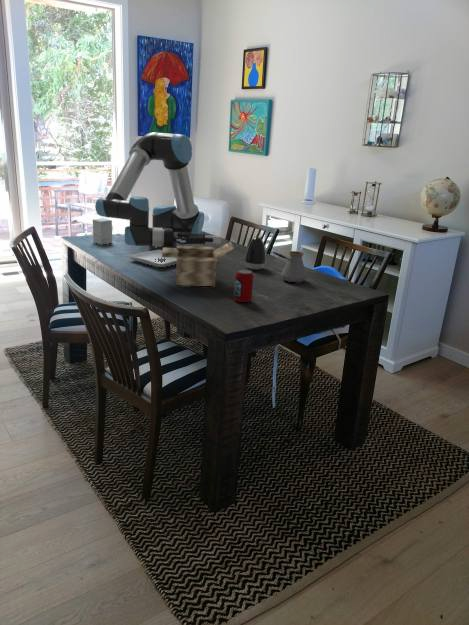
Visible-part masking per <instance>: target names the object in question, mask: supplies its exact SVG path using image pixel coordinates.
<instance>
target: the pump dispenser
mask: <svg viewBox="0 0 469 625" xmlns="http://www.w3.org/2000/svg"><path fill="white" fill-rule="evenodd" d="M244 263H245V265H246V267H247V268H248V269H249V270H251V271H252V270H254V271H259V270H261V269H263V268H265V264H266V263H267V254H266V246H265V244H264V241H263V237H257V236H255V237H253V238H252V239H251V240H250V242H249V244H248V246H247V248H246V251H245V255H244Z"/></svg>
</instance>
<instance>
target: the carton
mask: <svg viewBox="0 0 469 625" xmlns="http://www.w3.org/2000/svg"><path fill="white" fill-rule="evenodd" d="M214 250H215V248H214V246H198V245H197V246H196V245H178V246H177V248H163V251H162V257H173V258H177V264H176V266H175V267H176V268H175V269H176V273H175V274H176V275H175V277H176V278H175V282H176V283H175V284H176V285H188V286H187V287H190V286H214V287H213V288H216V277H217V276H216V275H217V263H219V262H218V259H217V258H216V254H215V251H214ZM176 285H175V286H176Z"/></svg>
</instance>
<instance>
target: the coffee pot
mask: <svg viewBox="0 0 469 625" xmlns="http://www.w3.org/2000/svg"><path fill="white" fill-rule="evenodd" d="M288 253H289V256H290V257H287V256H285V255H283V254H281V253H278V252H277V251H273V252H271V254H274V255H273V257H275V256H278V258H282V259H283V260H287V262H286V264H285V265H284V268H283V269H282V271H281V273H280V274H281V277H282V279H284V281H285V280H286V281H288V282H287V283H289V282H301V283H302V282H304V281H305V280H306V279H307V277H308V275H307V272H306V268H305V265H304V262H303V256H304V252H302V251H297V250H296V251H294V250H293V251H292V250H291V251H289V252H288ZM286 281H285V282H286Z"/></svg>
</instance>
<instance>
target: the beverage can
mask: <svg viewBox="0 0 469 625" xmlns="http://www.w3.org/2000/svg"><path fill="white" fill-rule="evenodd" d="M253 284H254V274H253V271H252V270H251V269H247V268H246V269H244V268H243V269H238V270H237V272H236V274H235V280H234V292H233V294H234V295H233V300H235V302H237V301H238V302H237V303H239V302H248V303H249V302H252V296H253Z"/></svg>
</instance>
